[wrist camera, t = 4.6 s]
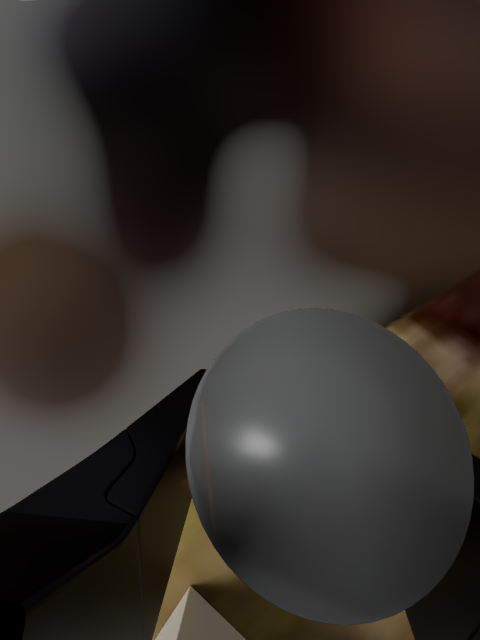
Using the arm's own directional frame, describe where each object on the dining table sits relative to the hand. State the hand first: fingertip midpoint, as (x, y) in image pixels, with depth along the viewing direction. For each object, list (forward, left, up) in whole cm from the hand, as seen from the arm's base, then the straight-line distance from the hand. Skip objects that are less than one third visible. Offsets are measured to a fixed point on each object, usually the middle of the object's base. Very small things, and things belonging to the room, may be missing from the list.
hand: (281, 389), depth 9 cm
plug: (-1, +1, -7) cm, 7 cm away
